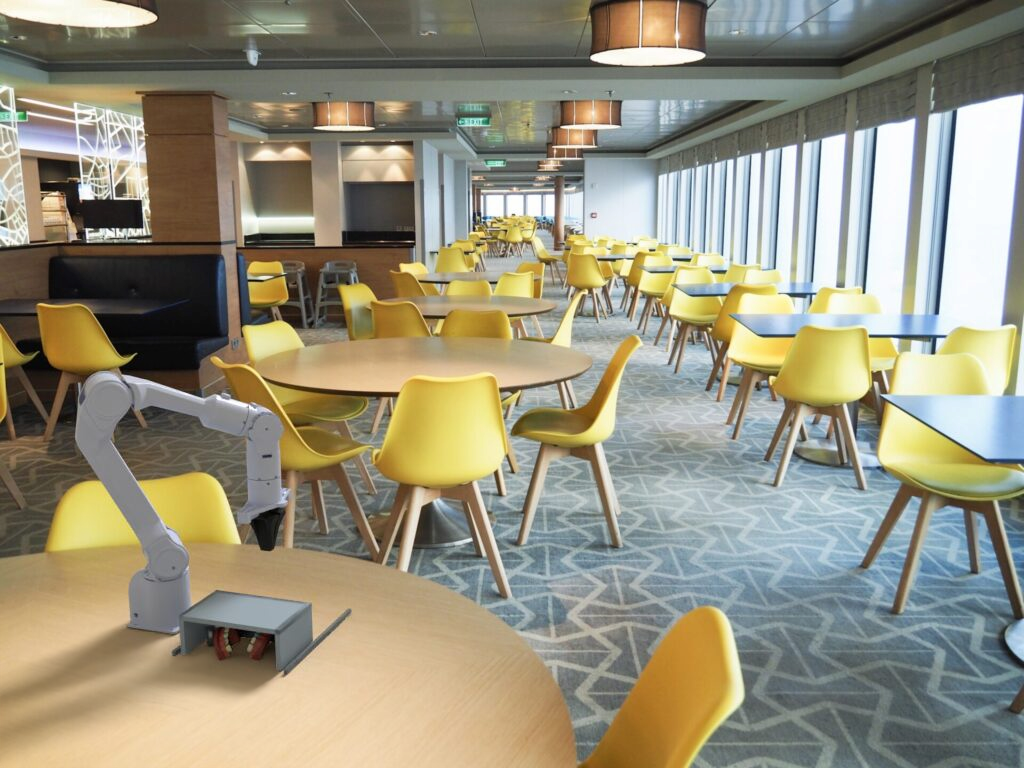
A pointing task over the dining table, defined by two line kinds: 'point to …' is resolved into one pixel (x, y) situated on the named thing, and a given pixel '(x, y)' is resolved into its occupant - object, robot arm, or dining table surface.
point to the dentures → (232, 636)
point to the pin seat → (250, 635)
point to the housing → (250, 621)
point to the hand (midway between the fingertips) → (267, 549)
